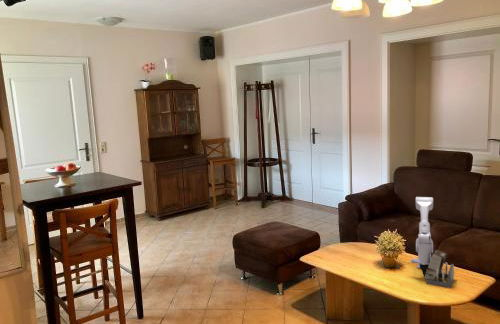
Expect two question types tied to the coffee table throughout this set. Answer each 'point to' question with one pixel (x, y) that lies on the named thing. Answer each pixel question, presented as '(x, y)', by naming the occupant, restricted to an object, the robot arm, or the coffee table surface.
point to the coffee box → (435, 264)
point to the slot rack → (443, 275)
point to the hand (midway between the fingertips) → (424, 276)
